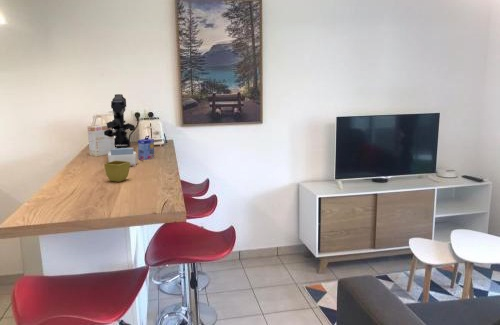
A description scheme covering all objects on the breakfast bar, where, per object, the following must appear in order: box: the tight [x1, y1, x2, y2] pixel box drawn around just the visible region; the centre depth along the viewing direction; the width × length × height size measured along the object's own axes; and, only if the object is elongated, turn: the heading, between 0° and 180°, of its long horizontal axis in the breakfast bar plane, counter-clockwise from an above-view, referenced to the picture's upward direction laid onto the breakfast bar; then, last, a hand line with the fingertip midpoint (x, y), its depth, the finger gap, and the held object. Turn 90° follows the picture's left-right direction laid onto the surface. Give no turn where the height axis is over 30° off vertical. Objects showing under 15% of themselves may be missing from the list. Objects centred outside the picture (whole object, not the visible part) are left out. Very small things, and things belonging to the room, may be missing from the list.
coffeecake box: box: [86, 123, 116, 158], centre depth 270 cm, size 15×7×20 cm, turn 144°
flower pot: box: [103, 161, 131, 183], centre depth 197 cm, size 9×9×9 cm
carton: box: [107, 150, 138, 166], centre depth 239 cm, size 13×15×6 cm
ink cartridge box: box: [137, 135, 155, 161], centre depth 254 cm, size 10×6×14 cm, turn 158°
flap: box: [110, 147, 134, 155], centre depth 229 cm, size 1×12×7 cm
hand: (120, 144), depth 240 cm, fingers closed
